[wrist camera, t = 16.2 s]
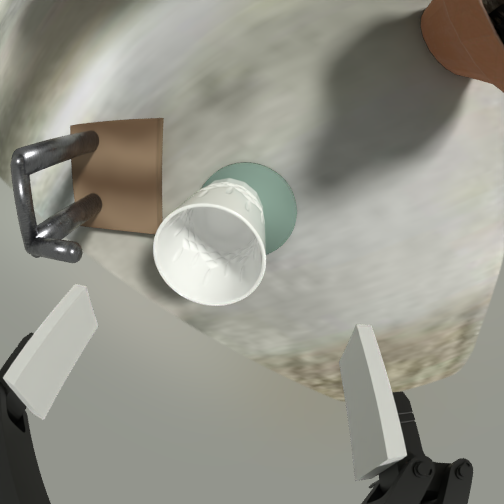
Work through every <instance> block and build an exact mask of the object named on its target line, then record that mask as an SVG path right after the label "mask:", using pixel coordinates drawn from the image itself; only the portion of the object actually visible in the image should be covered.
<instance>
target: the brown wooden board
mask: <svg viewBox="0 0 504 504" xmlns="http://www.w3.org/2000/svg"><path fill="white" fill-rule="evenodd" d="M163 119H164V118H150V119H129V120H115V121H103V122H94V123H85V124H77V125H72V126H70V133H71V134H75V133H80V132H85V131H90V130H92V131H95V132H96V133H97V134H98V136H99V145H98V148H97V149H96V150H95V151H93V152H91V153H87V154H84V155H81V156H78V157H75V158H72V159H71V164H72V179H73V190H74V199H75V202H76V201H78V200H80V199H81V198H83V197H85V196H87V195H89V194H90V193H95V194H97V195H98V196H99V197H100V198H101V200H102V209H101V211H100V212H99V213H97V214H96V215H94V216H93V217H91V218H90V219H89V220H87V221H86V222H84V223H83V224H82V225H80V226H85V227H94V228H103V229H112V230H121V231H130V232H139V233H148V234H156V232H157V229H158V228H159V226H160V224H161V223H162V222H163V221H162V141H163Z"/></svg>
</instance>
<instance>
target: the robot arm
mask: <svg viewBox="0 0 504 504" xmlns="http://www.w3.org/2000/svg"><path fill="white" fill-rule="evenodd" d="M97 328H98V323H97V320H96V317H95V314H94V311H93V307H92V304H91V301H90V298H89V294H88V290H87V287H86V286H82V285H77V284H75V285H74V286H73V287H72V288H71V289H70V291H69V292H68V293H67V294H66V295H65V296H64V298H63V299H62V300H61V301H60V302H59V303H58V305H57V306H56V307H55V308H54V309H53V311H52V312H51V313H50V314H49V315H48V317H47V318H46V319H45V320H44V322H43V323H42V324H41V326H40V327H39V328H38V329H37V331H36V332H35V333H34V334H33V333H30V334H29V335H27V336H26V337H24V338H23V339H22V341H21V342H20V343H19V345H18V347H17V348H16V349H15V350H14V352H13V353H12V354H11V356H10V357H9V358H8V360H7V361H6V363H5V364H4V366H3V367H2V369H1V370H0V504H51V503H50V501H49V498H48V495H47V493H46V489H45V487H44V484H43V481H42V477H41V474H40V471H39V467H38V464H37V460H36V456H35V452H34V448H33V443H32V439H31V434H30V429H29V423H28V417H27V413H26V411H25V409H26V407H27V408H28V409H29V410H30V411H31V412H32V413H33V414H34V415H36V416H38V417H39V418H41V419H43V420H44V419H45V417H46V415H47V413H48V411H49V409H50V407H51V405H52V404H53V402H54V400H55V398H56V396H57V394H58V393H59V391H60V389H61V387H62V385H63V384H64V382H65V380H66V378H67V377H68V375H69V373H70V371H71V370H72V368H73V366H74V364H75V363H76V361H77V360H78V358H79V356H80V355H81V353H82V351H83V350H84V348H85V347H86V345H87V343H88V342H89V340H90V339H91V337H92V336H93V334H94V333H95V331H96V329H97ZM339 365H340V370H341V376H342V382H343V388H344V395H345V401H346V408H347V415H348V422H349V430H350V437H351V446H352V455H353V465H354V476H355V481H357V480H365V479H371V478H373V477H375V476H377V475H378V474H379V480H378V481H376V482H374V483H373V484H372V485H370V486H369V488H372V487H373V489H372V490H371V492H370V493H369V494H368V496H367V497H366V498H365V500H364V501H363V502H362V504H467V503H468V499H469V493H470V488H471V483H472V477H473V467H472V464H471V463H470V462H469V461H468V460H467V459H464V458H463V459H458V460H457V461H455V462H453V463H452V464H451V463H436V462H432V460H431V459H430V458H429V457H427V456H425V454H424V452H423V450H422V446H421V442H420V437H419V434H418V430H417V426H416V422H415V421H414V420H415V418H414V415H413V413H412V408H411V405H410V401H409V399H408V398H407V397H406V395H405V394H404V393H403V392H392V390H391V386H390V383H389V379H388V376H387V373H386V369H385V366H384V363H383V360H382V356H381V353H380V350H379V347H378V344H377V341H376V338H375V335H374V332H373V329H372V326H371V325H361V324H356V326H355V329H354V331H353V333H352V336H351V338H350V340H349V342H348V344H347V346H346V349H345V351H344V353H343V355H342V357H341V359H340V361H339Z"/></svg>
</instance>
